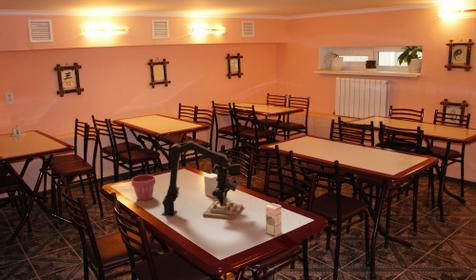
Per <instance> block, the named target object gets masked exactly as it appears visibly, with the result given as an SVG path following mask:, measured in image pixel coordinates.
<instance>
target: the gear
mask: <svg viewBox="0 0 476 280" xmlns="http://www.w3.org/2000/svg"><path fill="white" fill-rule="evenodd" d="M227 196H228V195H227ZM227 196H224V201H223V205H221V204H220V203H219V204H216V209H224V210H228V208H231V205H230V203H227V202H228V200H227V199H228V198H227Z"/></svg>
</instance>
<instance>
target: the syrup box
mask: <svg viewBox="0 0 476 280" xmlns="http://www.w3.org/2000/svg"><path fill="white" fill-rule="evenodd" d="M265 224H266V225H265V230H266V234H268V235H271V236H274V237H276V236H278V235H280V234H282V232H283V231H282V230H283V229H282V225H283V224H282V205H280V204H276V203H274V202H271V203H269V204H267V205H265Z"/></svg>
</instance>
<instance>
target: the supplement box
mask: <svg viewBox="0 0 476 280" xmlns="http://www.w3.org/2000/svg"><path fill="white" fill-rule="evenodd" d="M203 178H204V179H203V180H204V181H203V182H204V195H205V196H207V197H210V198H214V197H216V196H212V192H213V191H214V190H215V189H219V188H216V186H217V181H216V179H217V173H210V174H206V175H204V176H203Z"/></svg>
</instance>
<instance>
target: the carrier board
mask: <svg viewBox="0 0 476 280" xmlns="http://www.w3.org/2000/svg"><path fill="white" fill-rule="evenodd" d="M219 203H220V202H219V200H218V201H217V200H216V202H215V201H213V202H212V204H210V206H209V207H207V209H206V210H205V211H204V212H203V213H202V217H205V218H216V219H229V220H235V219H236V218H237V216H238V215H239V214H240V212H241V211H242V210H243V208H244V205H243V204H240V203H237V202H230V201H227V203H230V205H231V208H228V210H224V209H216V204H219Z"/></svg>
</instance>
